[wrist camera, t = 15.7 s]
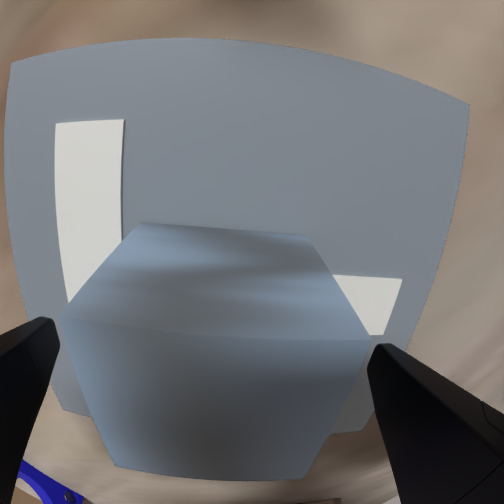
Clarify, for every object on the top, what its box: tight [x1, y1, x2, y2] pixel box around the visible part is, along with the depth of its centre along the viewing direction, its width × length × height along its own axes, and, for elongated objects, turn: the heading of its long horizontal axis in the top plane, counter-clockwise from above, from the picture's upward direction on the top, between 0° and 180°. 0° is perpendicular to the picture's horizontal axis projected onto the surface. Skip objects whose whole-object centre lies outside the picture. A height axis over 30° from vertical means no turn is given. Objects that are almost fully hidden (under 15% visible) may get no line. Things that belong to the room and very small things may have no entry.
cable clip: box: [17, 459, 84, 504], centre depth 14 cm, size 12×4×6 cm, turn 39°
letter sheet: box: [4, 38, 470, 434], centre depth 10 cm, size 16×16×1 cm
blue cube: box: [59, 222, 372, 481], centre depth 8 cm, size 5×5×5 cm
